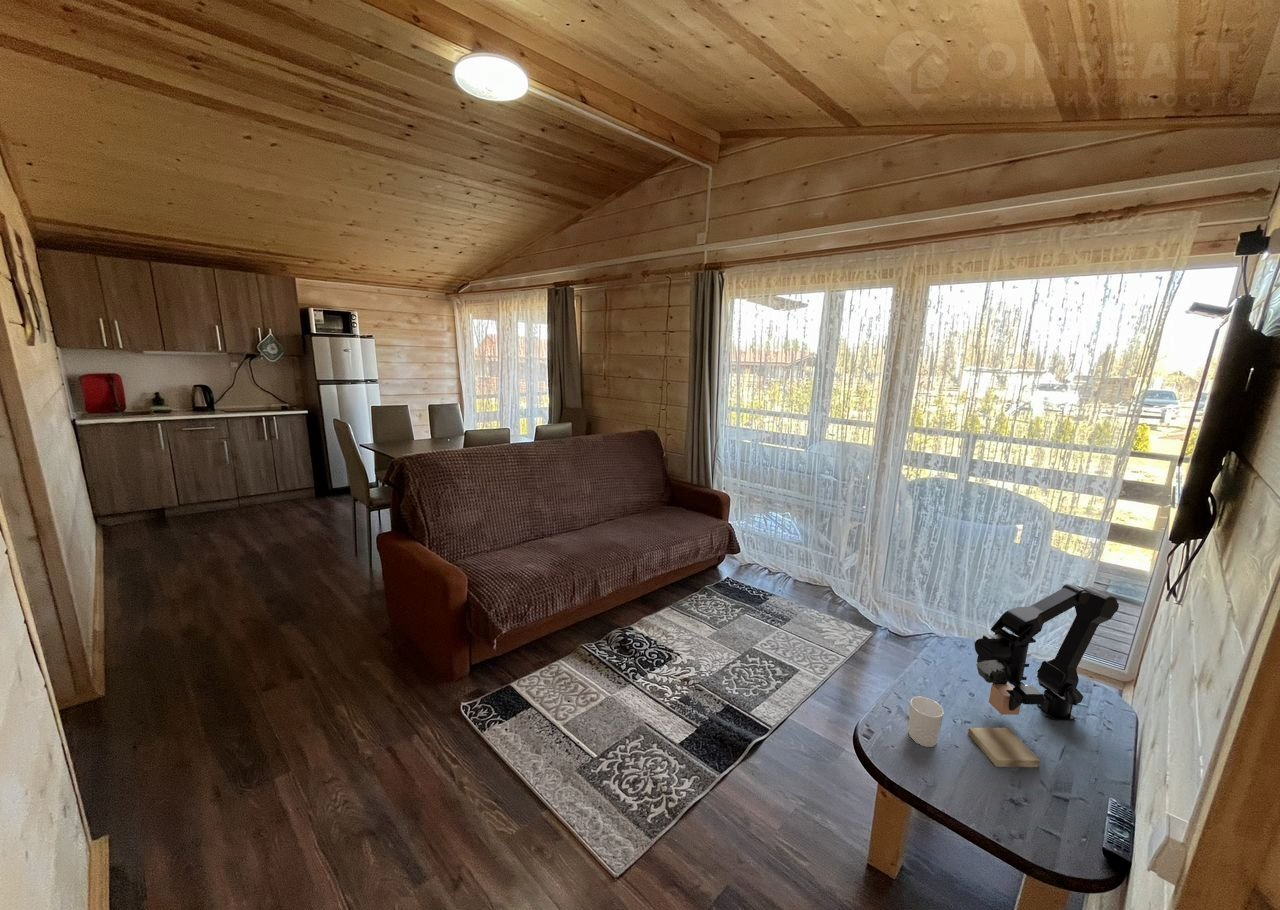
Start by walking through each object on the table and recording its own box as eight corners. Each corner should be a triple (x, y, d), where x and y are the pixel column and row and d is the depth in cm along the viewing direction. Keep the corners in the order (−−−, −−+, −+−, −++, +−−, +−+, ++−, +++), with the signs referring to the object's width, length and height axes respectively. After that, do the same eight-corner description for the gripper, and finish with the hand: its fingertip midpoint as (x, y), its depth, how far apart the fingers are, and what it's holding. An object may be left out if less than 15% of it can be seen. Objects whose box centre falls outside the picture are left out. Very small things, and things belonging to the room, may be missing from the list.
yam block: (1005, 702, 142) (1009, 684, 140) (1018, 714, 137) (1022, 696, 135) (988, 702, 142) (991, 684, 140) (1001, 714, 137) (1004, 696, 135)
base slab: (1007, 734, 135) (1008, 727, 134) (1038, 767, 124) (1040, 760, 123) (967, 733, 135) (968, 727, 134) (996, 766, 124) (997, 760, 123)
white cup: (937, 732, 135) (941, 701, 133) (940, 753, 128) (945, 720, 126) (905, 723, 138) (909, 693, 136) (907, 743, 131) (911, 711, 129)
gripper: (962, 636, 145) (955, 681, 148) (1009, 677, 127) (999, 728, 130) (1000, 636, 145) (992, 681, 148) (1051, 677, 126) (1041, 728, 130)
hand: (1004, 703), depth 139 cm, fingers closed on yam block, 5 cm apart
